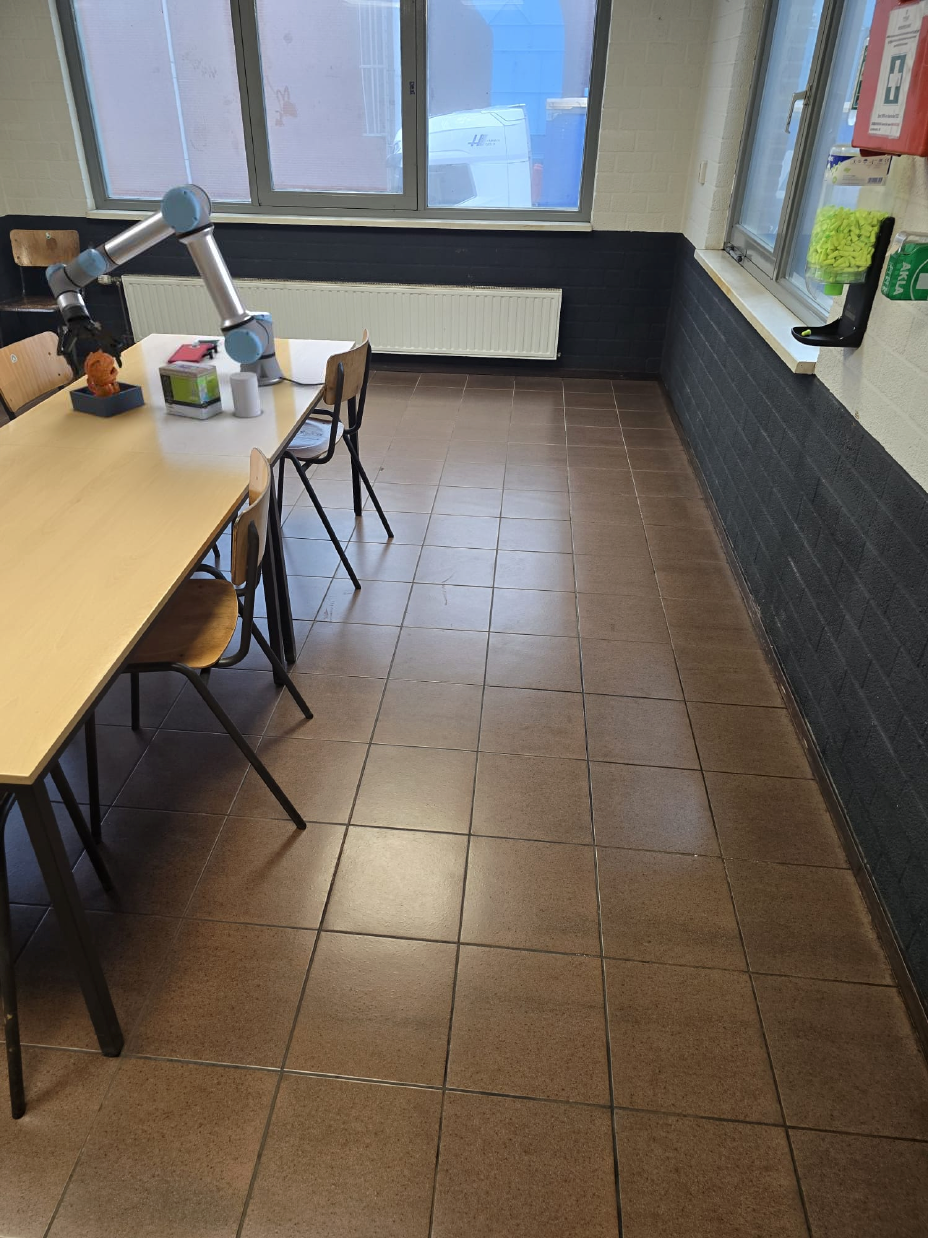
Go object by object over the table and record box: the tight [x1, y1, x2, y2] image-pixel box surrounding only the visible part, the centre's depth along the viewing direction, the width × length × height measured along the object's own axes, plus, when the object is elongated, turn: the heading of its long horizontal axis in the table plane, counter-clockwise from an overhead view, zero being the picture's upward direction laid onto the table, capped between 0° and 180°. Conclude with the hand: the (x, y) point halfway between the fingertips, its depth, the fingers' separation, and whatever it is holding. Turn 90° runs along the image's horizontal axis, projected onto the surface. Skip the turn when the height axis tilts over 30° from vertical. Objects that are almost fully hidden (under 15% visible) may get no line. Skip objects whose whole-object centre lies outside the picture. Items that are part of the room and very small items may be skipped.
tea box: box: [158, 361, 223, 420], centre depth 263 cm, size 15×10×15 cm
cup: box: [229, 371, 262, 418], centre depth 264 cm, size 8×8×12 cm
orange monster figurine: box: [83, 348, 120, 398], centre depth 266 cm, size 11×11×18 cm
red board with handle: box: [167, 339, 220, 364], centre depth 326 cm, size 30×3×15 cm
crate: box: [68, 380, 146, 419], centre depth 269 cm, size 15×15×6 cm
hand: (99, 369), depth 266 cm, fingers open, 13 cm apart
